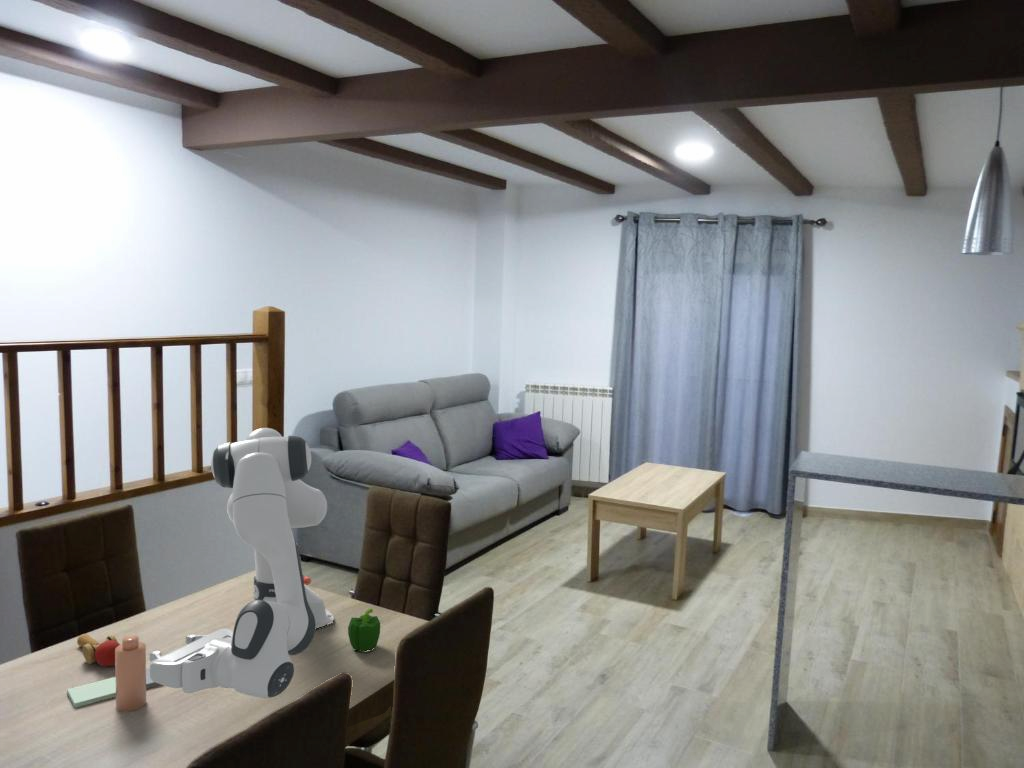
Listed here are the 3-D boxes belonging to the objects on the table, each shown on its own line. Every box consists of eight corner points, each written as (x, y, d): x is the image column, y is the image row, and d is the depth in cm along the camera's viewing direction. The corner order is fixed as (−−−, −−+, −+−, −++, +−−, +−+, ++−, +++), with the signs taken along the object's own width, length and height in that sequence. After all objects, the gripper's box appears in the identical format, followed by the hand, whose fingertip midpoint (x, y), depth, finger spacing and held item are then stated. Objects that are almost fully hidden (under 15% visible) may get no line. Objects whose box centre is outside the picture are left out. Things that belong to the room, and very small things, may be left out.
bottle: (141, 694, 179) (141, 630, 177) (149, 706, 174) (149, 640, 172) (112, 702, 175) (111, 637, 173) (120, 714, 170) (119, 647, 169)
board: (161, 669, 191) (161, 665, 190) (171, 681, 185) (171, 677, 185) (67, 693, 178) (67, 689, 178) (74, 707, 172) (74, 703, 172)
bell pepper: (359, 659, 200) (360, 621, 199) (342, 647, 206) (343, 610, 205) (387, 650, 206) (388, 613, 205) (370, 638, 212) (371, 602, 211)
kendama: (64, 656, 198) (95, 671, 186) (67, 630, 198) (98, 643, 187) (96, 652, 204) (128, 666, 192) (99, 627, 204) (131, 639, 193)
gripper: (257, 628, 171) (208, 615, 177) (181, 666, 152) (130, 650, 158) (256, 656, 172) (208, 643, 177) (181, 697, 153) (130, 681, 159)
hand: (170, 646), depth 167 cm, fingers open, 8 cm apart
